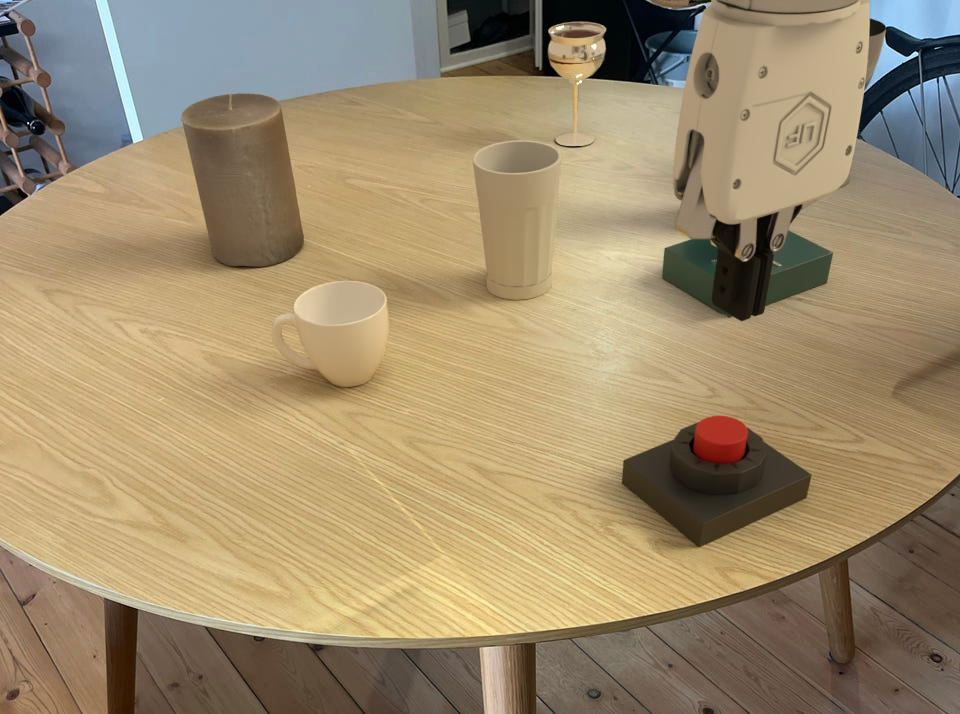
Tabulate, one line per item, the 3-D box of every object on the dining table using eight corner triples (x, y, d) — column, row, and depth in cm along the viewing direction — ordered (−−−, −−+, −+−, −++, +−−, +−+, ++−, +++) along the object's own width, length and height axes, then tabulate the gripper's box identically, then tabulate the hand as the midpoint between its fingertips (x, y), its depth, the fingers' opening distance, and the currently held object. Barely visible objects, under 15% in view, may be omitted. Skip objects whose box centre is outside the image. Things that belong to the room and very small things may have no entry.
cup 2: (464, 278, 101) (457, 152, 93) (534, 258, 103) (533, 134, 95) (502, 311, 96) (498, 181, 87) (575, 290, 98) (578, 161, 90)
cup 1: (394, 395, 86) (385, 322, 82) (276, 402, 86) (260, 329, 82) (395, 349, 92) (387, 277, 87) (284, 355, 92) (270, 284, 87)
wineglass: (575, 154, 122) (578, 42, 114) (535, 140, 126) (535, 31, 117) (613, 138, 125) (619, 28, 117) (573, 125, 129) (576, 18, 121)
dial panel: (755, 245, 103) (760, 214, 101) (827, 282, 97) (834, 250, 95) (661, 277, 99) (664, 246, 97) (729, 318, 93) (734, 286, 91)
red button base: (724, 440, 80) (731, 396, 77) (806, 499, 74) (816, 453, 72) (621, 484, 77) (624, 439, 74) (698, 548, 71) (705, 503, 68)
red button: (721, 430, 75) (724, 409, 73) (755, 454, 72) (758, 433, 71) (682, 446, 73) (685, 425, 72) (715, 471, 71) (718, 450, 70)
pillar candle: (277, 220, 113) (249, 71, 102) (321, 250, 107) (297, 95, 96) (196, 246, 109) (159, 94, 98) (238, 278, 103) (203, 120, 92)
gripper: (724, 15, 47) (681, 369, 60) (949, -36, 52) (865, 300, 65) (626, -17, 52) (606, 318, 65) (842, -61, 57) (784, 258, 70)
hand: (736, 308), depth 65 cm, fingers closed
